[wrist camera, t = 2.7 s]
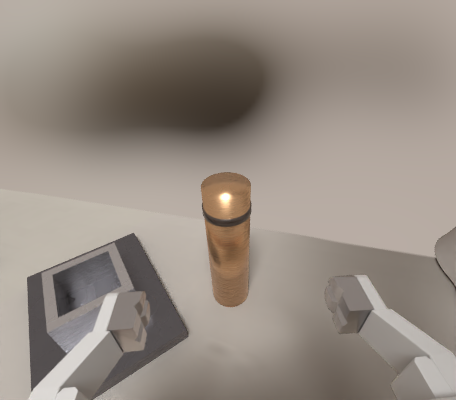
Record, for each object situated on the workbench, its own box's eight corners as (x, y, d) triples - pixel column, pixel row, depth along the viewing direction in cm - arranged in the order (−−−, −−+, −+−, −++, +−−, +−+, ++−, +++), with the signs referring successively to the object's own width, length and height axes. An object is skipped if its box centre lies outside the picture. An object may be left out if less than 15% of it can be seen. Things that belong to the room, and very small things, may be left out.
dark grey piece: (188, 336, 28) (180, 309, 24) (41, 433, 22) (5, 414, 18) (136, 239, 40) (126, 212, 37) (32, 284, 34) (10, 257, 31)
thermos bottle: (256, 294, 32) (262, 188, 22) (225, 315, 30) (217, 207, 20) (235, 269, 35) (232, 167, 25) (205, 286, 33) (190, 182, 23)
